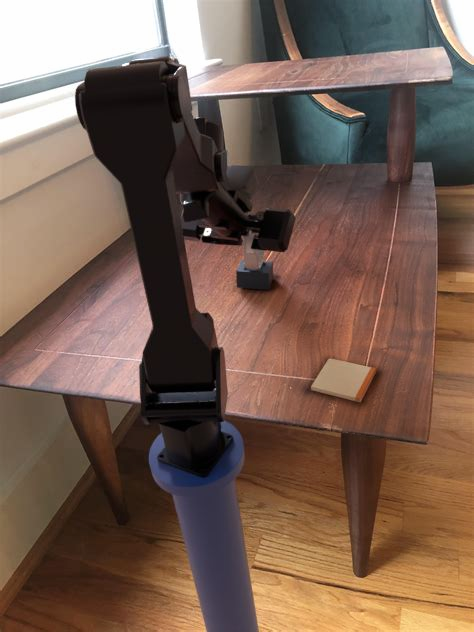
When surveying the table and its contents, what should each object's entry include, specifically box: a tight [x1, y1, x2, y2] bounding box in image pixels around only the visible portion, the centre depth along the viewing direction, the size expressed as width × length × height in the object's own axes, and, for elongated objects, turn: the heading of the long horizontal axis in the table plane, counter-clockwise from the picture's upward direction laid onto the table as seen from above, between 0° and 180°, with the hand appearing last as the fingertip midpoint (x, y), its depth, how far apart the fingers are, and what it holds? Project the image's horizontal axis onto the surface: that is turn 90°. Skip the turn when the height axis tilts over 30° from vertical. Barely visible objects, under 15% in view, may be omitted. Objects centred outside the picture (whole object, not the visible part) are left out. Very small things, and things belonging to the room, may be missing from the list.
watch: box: [235, 230, 274, 291], centre depth 91 cm, size 6×8×11 cm
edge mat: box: [310, 357, 377, 403], centre depth 69 cm, size 6×6×1 cm
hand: (255, 244), depth 92 cm, fingers closed on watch, 5 cm apart
